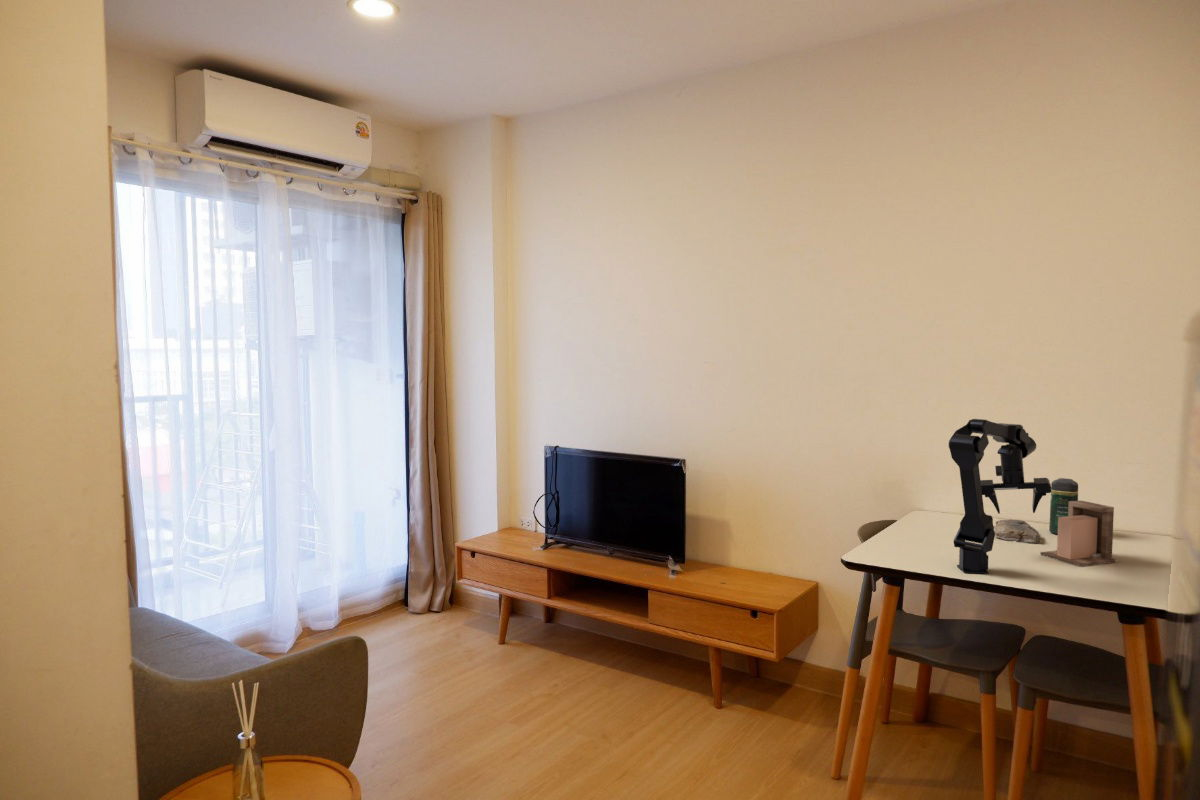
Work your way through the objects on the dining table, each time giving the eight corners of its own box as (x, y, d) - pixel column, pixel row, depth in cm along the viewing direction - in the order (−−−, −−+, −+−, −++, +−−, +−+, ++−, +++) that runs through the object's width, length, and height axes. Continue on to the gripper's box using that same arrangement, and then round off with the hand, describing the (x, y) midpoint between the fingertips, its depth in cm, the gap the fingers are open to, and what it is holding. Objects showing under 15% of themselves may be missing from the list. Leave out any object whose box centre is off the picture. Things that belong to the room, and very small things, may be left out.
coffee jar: (1075, 537, 247) (1077, 482, 246) (1048, 534, 252) (1049, 479, 251) (1077, 532, 255) (1079, 478, 254) (1050, 528, 260) (1052, 475, 259)
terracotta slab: (1070, 559, 219) (1071, 520, 218) (1056, 555, 223) (1058, 517, 222) (1096, 556, 222) (1097, 518, 221) (1082, 552, 226) (1083, 514, 225)
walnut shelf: (1079, 566, 214) (1081, 511, 213) (1040, 554, 227) (1042, 502, 226) (1115, 562, 219) (1118, 508, 218) (1075, 550, 231) (1077, 499, 230)
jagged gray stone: (993, 527, 263) (990, 539, 246) (993, 514, 263) (991, 524, 246) (1039, 533, 256) (1039, 545, 239) (1040, 519, 256) (1040, 530, 239)
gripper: (1044, 453, 226) (1048, 501, 229) (975, 456, 234) (980, 503, 237) (1049, 466, 216) (1053, 516, 219) (977, 469, 224) (982, 517, 227)
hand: (1016, 512), depth 226 cm, fingers open, 9 cm apart
